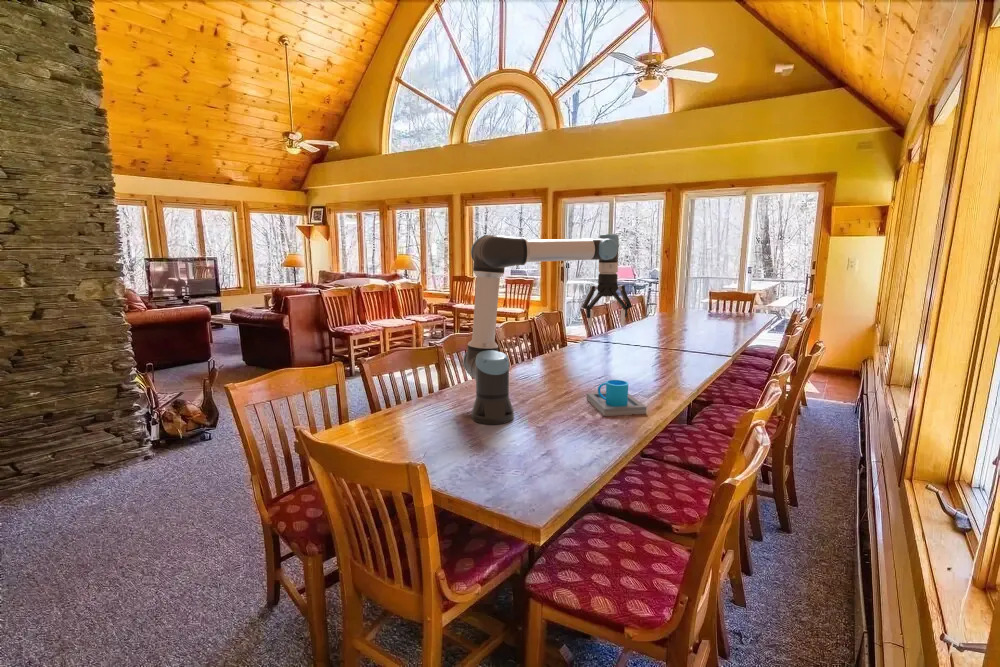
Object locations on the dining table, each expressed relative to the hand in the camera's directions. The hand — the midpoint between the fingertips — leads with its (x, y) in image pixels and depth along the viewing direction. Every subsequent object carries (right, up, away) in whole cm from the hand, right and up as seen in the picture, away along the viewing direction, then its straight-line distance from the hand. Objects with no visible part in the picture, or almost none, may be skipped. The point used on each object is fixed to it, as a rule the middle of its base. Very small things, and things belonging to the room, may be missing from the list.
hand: (606, 325), depth 202 cm
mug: (-1, -30, -12) cm, 32 cm away
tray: (+1, -31, -12) cm, 33 cm away
